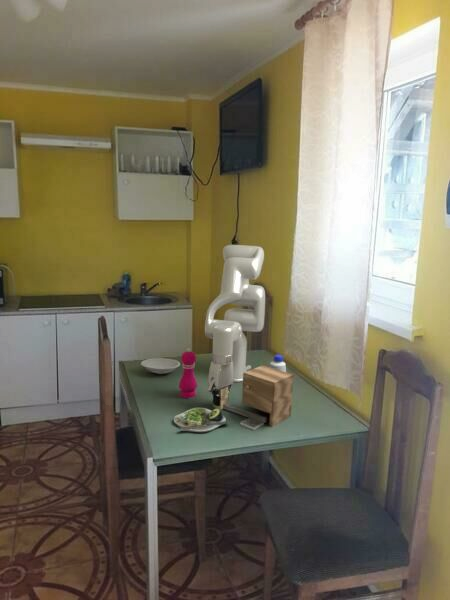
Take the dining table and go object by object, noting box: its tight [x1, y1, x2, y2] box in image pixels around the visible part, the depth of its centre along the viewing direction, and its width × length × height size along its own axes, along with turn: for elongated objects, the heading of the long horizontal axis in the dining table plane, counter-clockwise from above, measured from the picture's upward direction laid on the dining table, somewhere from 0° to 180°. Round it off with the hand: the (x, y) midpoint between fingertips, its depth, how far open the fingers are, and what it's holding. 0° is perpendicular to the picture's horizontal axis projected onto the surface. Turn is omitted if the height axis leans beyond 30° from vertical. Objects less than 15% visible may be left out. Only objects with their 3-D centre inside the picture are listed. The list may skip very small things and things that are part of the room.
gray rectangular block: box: [239, 417, 265, 431], centre depth 179 cm, size 6×6×2 cm
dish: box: [140, 357, 181, 375], centre depth 226 cm, size 18×14×5 cm
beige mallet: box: [212, 387, 267, 423], centre depth 186 cm, size 4×23×8 cm, turn 50°
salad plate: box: [173, 407, 231, 433], centre depth 178 cm, size 19×18×5 cm
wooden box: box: [241, 364, 295, 427], centre depth 185 cm, size 13×14×16 cm
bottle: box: [269, 354, 287, 372], centre depth 197 cm, size 7×7×20 cm
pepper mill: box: [178, 347, 198, 399], centre depth 201 cm, size 7×7×20 cm
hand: (220, 402), depth 193 cm, fingers closed on beige mallet, 4 cm apart
